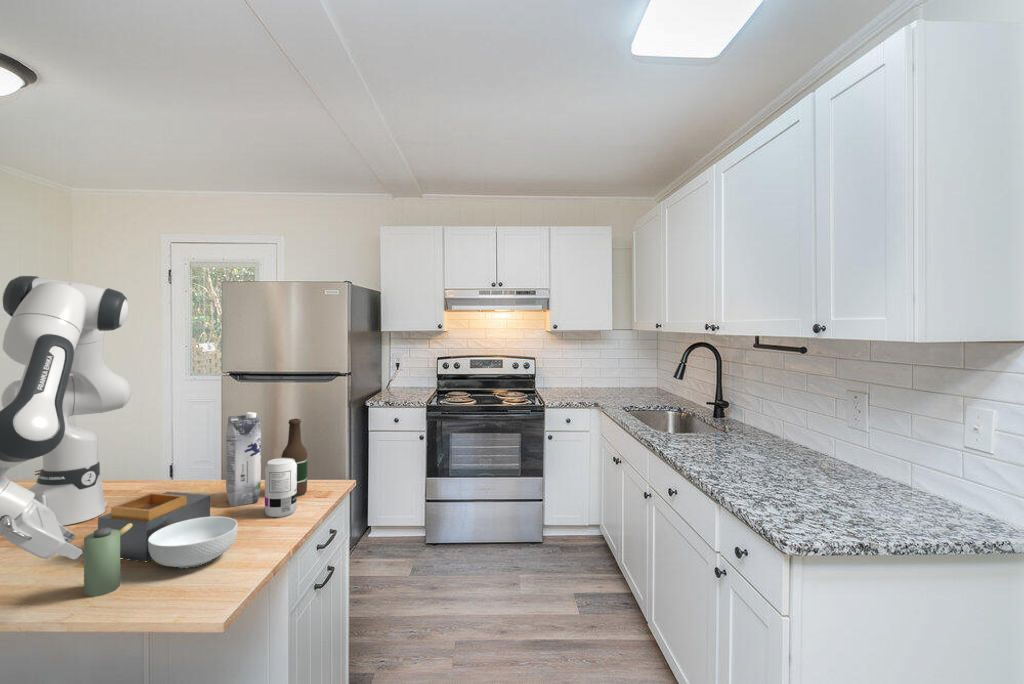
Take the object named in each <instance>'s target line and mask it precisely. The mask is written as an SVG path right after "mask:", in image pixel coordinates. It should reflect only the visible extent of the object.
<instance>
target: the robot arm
mask: <svg viewBox="0 0 1024 684" xmlns="http://www.w3.org/2000/svg"><path fill="white" fill-rule="evenodd" d="M1 301H2V308H3V310H4V312H6V314H7V315H8V316H9V317H11V318H10V320H9V323H8V325H7V326H6V329H5V331H4V335H3V339H2V340H3V341H2V350H3V351H4V353H5V354H6V355H7V357H8V358H10V359H11V360H13V361H14V362H16V363H18V364H21V365H24V366H25V368H24V370H23V372H22V376H21V379H20V380H14V381H13V382H11V383H10V384H8V385H7V386H6V388H5V389H4V391H3V393H2V395H1V406H2V409H1V410H0V536H2V537H4V538H5V540H6V541H8V542H9V543H11V544H12V545H14V546H16V547H18V548H19V549H21V550H24V551H25V552H27V553H29V554H31V555H34V556H35V557H37V558H40V559H44V560H49V559H50V558H51V557H53V556H54V555H57V556H63V557H66V558H69V559H71V560H77V559H78V558H79V557H80V556H81V555H82V554H83V549H82V548H81V547H79V546H77V545H75V544H71V543H72V542H73V540H75V539H76V534H75V533H74V532H72V531H71V530H69V529H67V528H66V527H65V526H68V525H73V524H77V523H82V522H85V521H89V520H92V519H94V518H95V519H96V518H98V517H100V515H101V516H102V514H103V515H104V513H105V512H106V508H107V506H108V501H106V500H105V498H104V489H103V482H102V479H101V478H100V477H99V476H100V474H101V465H100V464H101V463H100V462H99V461H98V460H99V458H98V456H99V455H98V453H99V452H98V449H99V447H98V446H99V445H98V441H99V440H98V436H97V434H96V432H94V431H92V430H90V429H86V428H85V427H82V426H81V427H80V426H76V425H72V424H71V423H70V422H68V418H69V417H72V416H83V415H93V414H102V413H106V412H107V413H108V412H112V411H115V410H120V409H123V408H124V407H125V406H126V405H127V403H128V402H129V401H130V399H131V396H132V388H131V384H130V383H129V382H128V380H127V379H126V377H123V376H122V375H120V374H117V373H116V372H114V371H113V370H111V369H110V368H109V367H108V365H107V364H106V362H105V359H104V341H105V332H106V331H108V332H109V331H115V330H117V329H119V328H121V327H122V326H123V324H124V323H125V321H127V318H128V316H129V311H130V310H129V309H130V308H129V303H128V299H127V296H126V295H125V294H124V293H123V292H121V291H118V290H116V289H112V288H109V287H108V288H104V287H100V286H97V285H93V284H91V283H90V284H88V283H85V282H80V281H71V280H70V281H69V280H63V279H56V278H42V277H39V276H38V275H37V276H36V275H35V276H34V275H20V276H17V277H15V278H13V279H11V280H10V281H9V282H8V283H7V285H6V286H5V288H4V289H3V292H2V299H1ZM39 457H42V469H39V470H35V471H34V473H35V474H34V476H37V479H36V483H35V484H33V485H32V486H31V487H30V488H29V489H27V488H25V487H24V486H22V485H20V484H18V483H16V482H15V481H12V480H11V479H9V478H7V477H6V473H7V472H8V471H9V470H10V469H11V468H15V467H16V466H19V465H21V464H23V463H25V462H27V461H30V460H33V459H36V458H39Z"/></svg>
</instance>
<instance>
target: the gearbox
mask: <svg viewBox="0 0 1024 684" xmlns="http://www.w3.org/2000/svg"><path fill="white" fill-rule="evenodd" d="M201 517H211V495H209V494H197V493H186V492H175V491H165V492H162V493H158V492H150V493H147V494H145V495H144V494H143V495H142V496H138V497H136V498H133V499H130V500H128V501H125V502H122V503H119V504H117V505H114V506H112V507H110V513H106V514H103V515H101V516H97V529H101V528H111V529H115V530H119V531H120V530H121V529H122V528H123V527H125V526H126V525H127V524H129V523H131V524H132V525H133V526H132V527H131V528H130V529H129V530H128V531H126V532H125V533H124V534H122V535H121V536H120V558H123V559H130V560H129V561H132V560H138V561H137V562H140V561H148V560H150V561H152V560H153V559H152V557H151V556H150V553H149V551H148V538H149V537H150V536H151V535H152V534H153V533H154V532H156V531H158V530H159V529H162V528H164V527H166V526H169V525H171V524H174V523H177V522H181V521H185V520H190V519H195V518H201ZM123 559H122V560H123ZM151 559H152V560H151ZM148 562H149V561H148Z"/></svg>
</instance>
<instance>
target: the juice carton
mask: <svg viewBox="0 0 1024 684" xmlns="http://www.w3.org/2000/svg"><path fill="white" fill-rule="evenodd" d="M227 419H228V420H227V423H226V439H225V440H226V441H225V447H226V448H225V453H226V454H225V462H226V463H225V488H226V496H227V500H228V503H229V506H230V507H232V508H233V507H238V506H244V505H250V504H252V505H253V504H257V503H258V501H259V498H260V493H261V486H262V485H261V483H262V480H261V477H262V475H261V473H262V460H261V459H262V429H261V428H262V427H261V421H260V419H259V418H258V414H257V412H251V411H248V412H246V413H245V415H244V414H243V415H231V416H228V418H227Z"/></svg>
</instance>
